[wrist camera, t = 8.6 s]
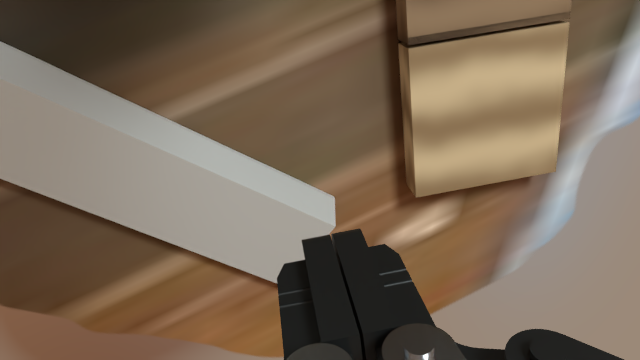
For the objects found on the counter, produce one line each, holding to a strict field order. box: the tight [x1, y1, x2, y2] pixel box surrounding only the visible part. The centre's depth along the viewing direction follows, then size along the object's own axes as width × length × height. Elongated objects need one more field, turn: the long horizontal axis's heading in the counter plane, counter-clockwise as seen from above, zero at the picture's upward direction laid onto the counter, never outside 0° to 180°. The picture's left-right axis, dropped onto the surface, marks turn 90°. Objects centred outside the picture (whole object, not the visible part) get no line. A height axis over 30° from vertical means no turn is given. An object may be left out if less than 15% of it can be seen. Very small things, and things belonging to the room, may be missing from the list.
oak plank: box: [398, 20, 569, 198], centre depth 44 cm, size 14×14×3 cm
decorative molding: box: [0, 41, 336, 283], centre depth 43 cm, size 34×5×10 cm
